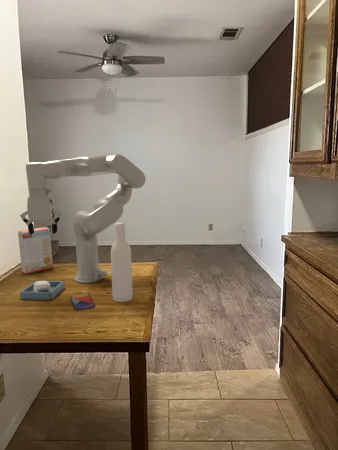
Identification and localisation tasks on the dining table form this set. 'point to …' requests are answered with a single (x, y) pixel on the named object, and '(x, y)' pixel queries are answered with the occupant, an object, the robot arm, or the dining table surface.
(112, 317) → the dining table surface
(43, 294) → the tray
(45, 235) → the cracker box
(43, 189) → the robot arm
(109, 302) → the dining table surface
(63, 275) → the dining table surface
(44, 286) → the garlic
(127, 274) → the bottle
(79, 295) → the smartphone
